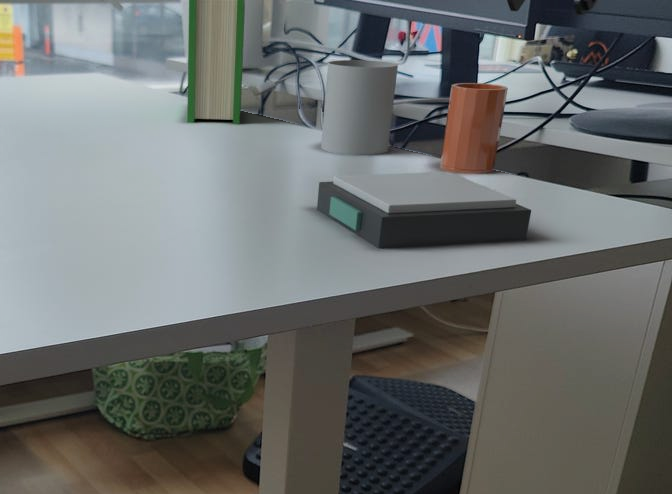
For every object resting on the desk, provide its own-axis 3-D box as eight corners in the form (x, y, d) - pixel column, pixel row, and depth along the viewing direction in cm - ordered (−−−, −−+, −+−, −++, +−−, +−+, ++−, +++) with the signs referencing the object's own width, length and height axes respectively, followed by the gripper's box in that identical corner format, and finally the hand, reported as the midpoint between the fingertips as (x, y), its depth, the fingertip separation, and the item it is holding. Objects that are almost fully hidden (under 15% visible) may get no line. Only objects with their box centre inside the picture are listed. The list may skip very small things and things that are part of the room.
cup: (315, 153, 118) (322, 65, 113) (326, 142, 125) (333, 59, 120) (383, 158, 116) (393, 68, 111) (391, 147, 123) (401, 62, 118)
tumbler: (476, 164, 114) (489, 82, 109) (503, 174, 109) (518, 89, 104) (430, 166, 113) (442, 83, 108) (455, 176, 108) (469, 90, 103)
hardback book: (239, 125, 136) (246, -71, 124) (187, 124, 136) (190, -72, 124) (240, 107, 151) (247, -69, 139) (194, 106, 152) (197, -70, 140)
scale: (447, 205, 95) (453, 169, 93) (525, 242, 83) (533, 201, 81) (312, 212, 91) (315, 174, 90) (373, 251, 80) (378, 208, 78)
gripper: (686, -80, 107) (608, 37, 106) (571, -80, 116) (499, 28, 115) (676, -140, 101) (594, -17, 100) (556, -135, 110) (480, -22, 110)
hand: (543, 7), depth 108 cm, fingers open, 8 cm apart
